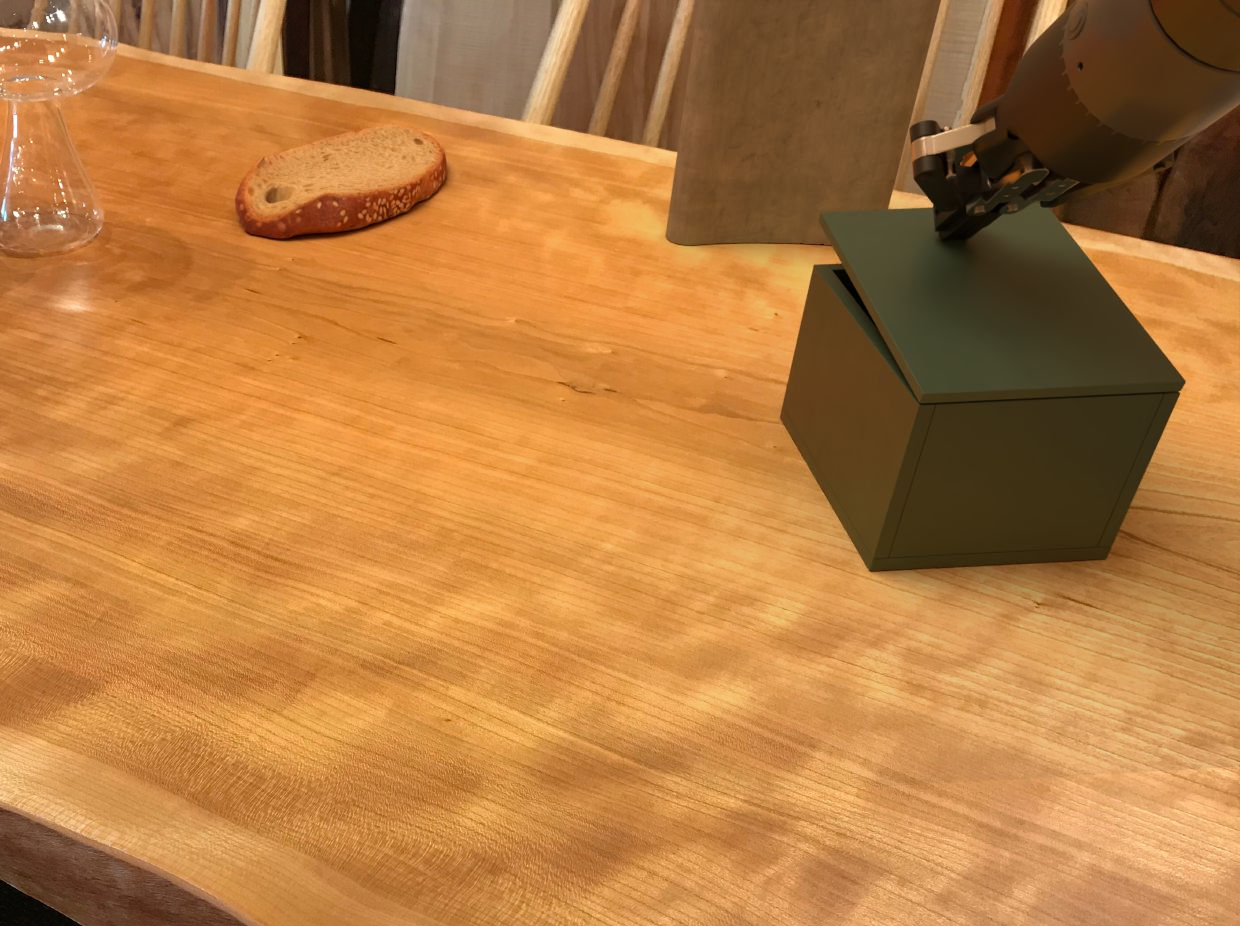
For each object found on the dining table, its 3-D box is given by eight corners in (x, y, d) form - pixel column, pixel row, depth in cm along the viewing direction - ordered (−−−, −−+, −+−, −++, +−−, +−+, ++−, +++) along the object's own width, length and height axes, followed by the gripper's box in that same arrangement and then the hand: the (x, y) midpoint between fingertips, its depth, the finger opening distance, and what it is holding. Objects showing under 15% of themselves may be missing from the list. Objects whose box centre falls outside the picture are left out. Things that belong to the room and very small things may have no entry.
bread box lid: (817, 221, 72) (820, 211, 72) (1041, 211, 73) (1045, 201, 72) (919, 404, 62) (923, 393, 61) (1181, 391, 62) (1187, 381, 61)
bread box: (779, 417, 80) (813, 264, 73) (982, 407, 80) (1034, 254, 74) (869, 571, 68) (919, 405, 62) (1106, 559, 68) (1181, 393, 62)
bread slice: (438, 147, 115) (439, 103, 112) (467, 231, 101) (469, 182, 99) (234, 158, 114) (231, 114, 112) (236, 243, 101) (232, 195, 98)
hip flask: (667, 244, 99) (709, -50, 86) (662, 223, 102) (702, -65, 89) (883, 248, 97) (960, -50, 84) (872, 226, 100) (944, -65, 87)
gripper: (1005, 144, 52) (835, 295, 70) (1327, 131, 53) (1078, 285, 70) (989, -36, 53) (824, 159, 70) (1308, -47, 53) (1065, 149, 71)
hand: (951, 222), depth 70 cm, fingers closed
